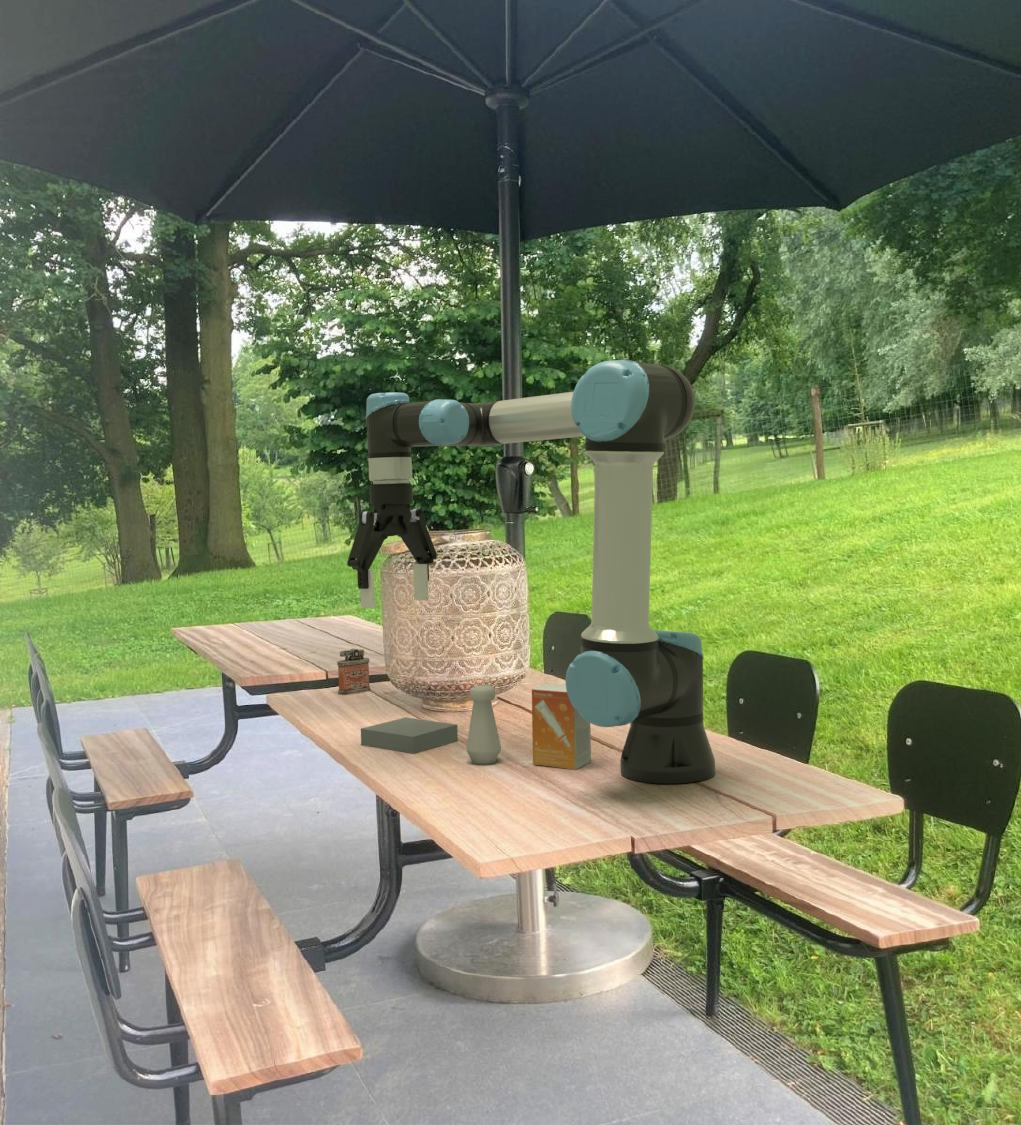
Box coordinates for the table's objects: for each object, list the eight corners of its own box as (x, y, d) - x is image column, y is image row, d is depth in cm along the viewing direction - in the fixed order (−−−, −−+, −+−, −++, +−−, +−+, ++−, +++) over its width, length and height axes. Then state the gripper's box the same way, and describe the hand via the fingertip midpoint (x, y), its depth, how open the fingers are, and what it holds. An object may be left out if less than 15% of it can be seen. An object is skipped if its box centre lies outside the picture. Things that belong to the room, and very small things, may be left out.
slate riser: (457, 740, 218) (457, 724, 218) (413, 753, 208) (412, 736, 208) (406, 732, 226) (405, 717, 226) (361, 744, 216) (360, 728, 216)
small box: (532, 765, 197) (530, 688, 197) (549, 757, 203) (547, 682, 202) (576, 770, 194) (574, 691, 193) (592, 761, 199) (590, 685, 198)
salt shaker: (497, 766, 198) (495, 689, 197) (463, 765, 199) (461, 689, 198) (504, 758, 203) (502, 683, 202) (471, 757, 204) (469, 682, 204)
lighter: (365, 688, 275) (363, 646, 274) (373, 690, 272) (371, 647, 272) (335, 693, 270) (333, 650, 269) (343, 695, 267) (341, 651, 267)
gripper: (422, 481, 218) (427, 596, 219) (323, 484, 198) (328, 610, 200) (453, 480, 213) (457, 597, 215) (354, 483, 194) (359, 612, 195)
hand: (395, 604), depth 207 cm, fingers open, 13 cm apart
